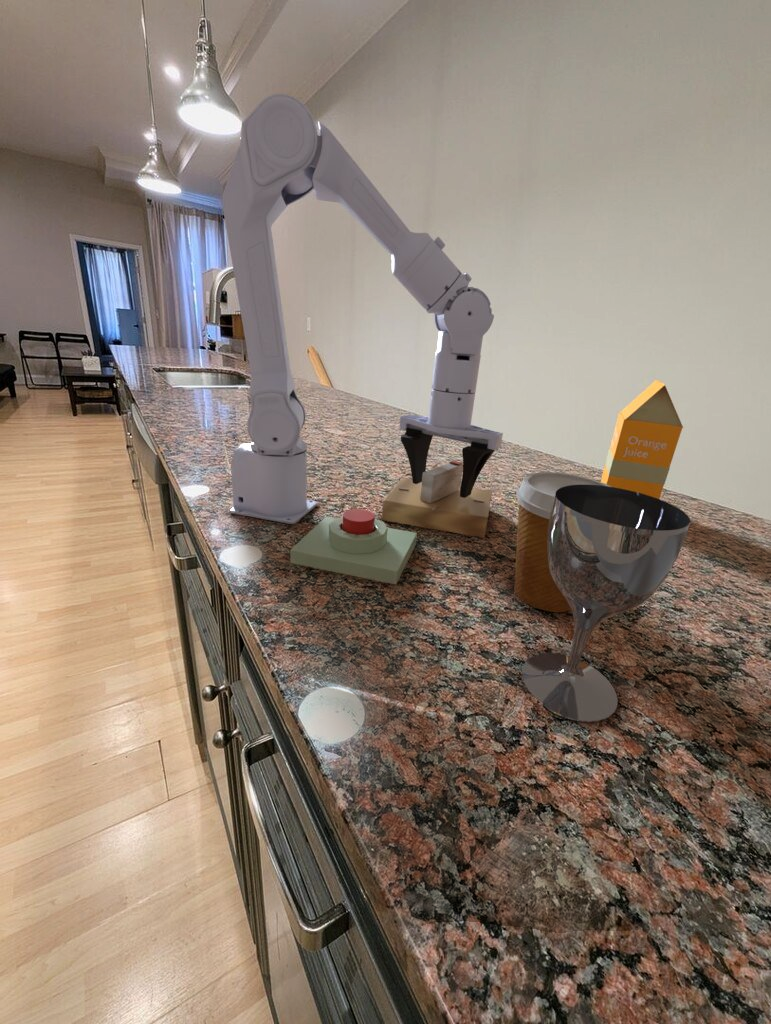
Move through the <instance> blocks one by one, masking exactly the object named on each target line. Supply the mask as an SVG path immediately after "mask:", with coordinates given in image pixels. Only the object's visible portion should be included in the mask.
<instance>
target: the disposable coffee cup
mask: <svg viewBox="0 0 771 1024" xmlns="http://www.w3.org/2000/svg"><path fill="white" fill-rule="evenodd" d="M570 485H600V486H608V487H611V486H609V485H607V484H605V483H602V482H601V480H600V481H599V480H596V479H594V478H590V477H585V476H581V475H576V474H569V473H564V472H563V473H562V472H549V471H547V472H546V471H544V472H543V471H542V472H534V473H530V474H527V475H525V476H524V478H523V480H522V482H521V484H520V485H519V486H518V487H517V488H516V490H515V494H516V497H517V502H518V516H517V517H518V518H517V520H518V521H517V534H516V535H517V536H516V550H515V552H516V553H515V568H514V569H515V570H514V582H513V583H514V585H513V590H514V594H515V595H516V596H517V597H518V598H519V600H521V601H522V602H524V603H526V604H527V605H529V606H530V607H533V608H535V609H538V610H541V611H546V612H551V613H564V612H569V611H572V610H571V608H570V606H569V604H568V602H567V601H566V599H565V598H564V596H563V595H562V593H561V592H560V590H559V589H558V587H557V586H556V584H555V583H554V581H553V579H552V576H551V574H550V571H549V567H548V561H547V538H548V525H549V519H550V513H551V508H552V504H553V500H554V496H555V493H556V491H557V490H558V489H560V488H561V487H565V486H570Z"/></svg>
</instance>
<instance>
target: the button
mask: <svg viewBox="0 0 771 1024" xmlns="http://www.w3.org/2000/svg"><path fill="white" fill-rule="evenodd" d="M342 517H343V522H342V530H343V531H344V532H346V533H350V534H355V535H365V534H369V533H372V532H373V531H374V521H375V518H376V516H375V514H374V513H373V512H372V511H369V510H367V509H360V508H353V509H348V510H345V511H344V512H343V513H342Z"/></svg>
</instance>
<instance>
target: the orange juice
mask: <svg viewBox="0 0 771 1024" xmlns="http://www.w3.org/2000/svg"><path fill="white" fill-rule="evenodd" d="M683 429H684V426H683V424H682V422H681V419H680V418H679V415H678V412H677V410H676V407H675V405H674V402H673V400H672V398H671V396H670V393H669V391H668V389H667V386H666V384H665V383H663V382H662V381H660V380H658V379H656V378H655V380H654V381H653V382H651V384H649V386H647V388H645V389H644V390H643V391H642V392H640V394H639V395H637V396H636V397H635V398H634V399H633V400H632V401H631V402H630V403H629V404H627V405H626V406H625V407H624V408H623V409H622V410H620V411H619V412H618V416H617V419H616V422H615V427H614V430H613V434H612V439H611V442H610V446H609V448H608V452H607V454H606V455H607V456H606V459H605V464H604V468H603V470H602V471H603V472H602V476H601V480H600V482H602V483H605V484H607V485H609V486H611V487H615V488H620V489H625V490H630V491H634V492H638V493H642V494H645V495H648V496H651V497H654V498H657V499H660V498H661V496H662V492H663V489H664V486H665V484H666V481H667V478H668V475H669V472H670V468H671V464H672V462H673V458H674V455H675V452H676V449H677V446H678V442H679V440H680V437H681V434H682V430H683Z"/></svg>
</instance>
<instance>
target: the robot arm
mask: <svg viewBox="0 0 771 1024" xmlns="http://www.w3.org/2000/svg"><path fill="white" fill-rule="evenodd" d="M317 123H318V129H317V125H316V121H315V119H314V117H313V115H312V113H311V111H310V110H309V109H308V107H307V106H306V105H305V104H304V103H303V102H302V101H301V100H300V99H298V98H297V97H295V96H293V95H290V94H287V93H280V92H279V93H273V94H270V95H268V96H266V97H264V98H263V100H261V101H260V102H259V104H257V106H255V107H254V109H253V110H252V111H251V112H250V113H249V114H248V115H247V117H246V118H245V119H244V120H243V121H242V123H241V128H240V135H239V136H240V137H239V142H238V143H239V144H238V148H237V150H236V154H235V156H234V159H233V163H232V165H231V169H230V172H229V175H228V178H227V181H226V184H225V187H224V190H223V193H222V200H221V201H222V210H223V217H224V222H225V228H226V234H227V240H228V241H227V242H228V246H229V252H230V257H231V258H230V259H231V263H232V264H231V265H232V270H233V275H234V281H235V288H236V293H237V299H238V305H239V312H240V316H241V317H240V318H241V322H242V323H241V324H242V329H243V336H244V341H245V346H246V352H247V358H248V364H249V370H250V371H249V372H250V383H249V384H250V385H249V399H250V412H249V415H248V417H247V421H246V422H247V423H246V429H247V433H248V437H249V439H250V441H251V442H250V443H242V444H240V445H239V446H238V447H237V448H236V449H235V450H234V451H233V452H234V453H233V455H232V458H231V464H230V475H231V487H232V488H231V489H232V504H233V507H232V508H230V514H234V515H239V516H244V517H245V516H246V517H249V518H256V519H260V520H266V521H272V522H276V523H283V524H288V525H295V524H296V523H297V522H299V521H300V520H301V519H302V518H304V517H305V516H306V515H307V514H308V513H309V512H311V511H312V510H313V509H314V508H316V507H317V506H318V501H317V500H312V499H308V493H307V492H308V491H307V490H308V487H307V486H308V484H307V483H308V482H307V481H308V470H307V469H308V468H307V467H308V465H307V464H308V461H307V460H308V457H307V456H308V454H307V453H308V450H307V449H308V445H307V443H306V442H305V441H304V440H303V439H302V437H301V431H302V429H303V428H304V425H305V422H306V409H305V406H304V404H303V403H302V402H301V400H300V398H299V397H298V395H297V392H296V387H295V386H296V385H295V381H294V378H293V373H292V370H291V364H290V357H289V350H288V342H287V333H286V329H285V327H286V326H285V320H284V314H283V313H284V312H283V305H282V299H281V290H280V284H279V283H280V282H279V277H278V269H277V262H276V253H275V246H274V240H273V239H274V238H273V232H272V226H273V224H275V222H276V220H277V219H278V218H279V217H280V216H281V215H282V213H283V212H284V211H285V210H286V209H287V208H288V206H289V205H291V204H293V203H295V202H297V201H299V200H301V199H302V198H304V197H306V196H308V195H309V194H310V193H312V191H314V194H315V195H314V196H315V200H318V201H323V202H330V203H338V204H340V205H341V206H342V207H343V208H344V209H345V210H346V211H347V212H348V213H349V214H350V215H351V216H352V217H353V218H354V219H355V220H356V222H358V223H359V224H360V225H361V226H362V227H363V228H364V229H365V230H366V231H367V232H368V234H370V235H371V237H372V238H373V239H374V240H375V241H376V242H377V243H378V244H379V245H380V246H381V247H382V248H383V249H384V250H385V251H386V252H387V253H388V254H389V255H390V257H391V273H392V276H394V278H396V280H397V281H398V282H399V283H400V285H402V286H403V288H404V289H405V290H406V291H407V292H408V293H409V294H410V295H411V297H413V298H414V299H415V300H416V301H417V303H418V304H419V305H420V306H421V307H422V308H423V310H425V311H426V313H428V314H433V322H434V325H435V328H436V329H437V330H438V334H437V335H438V338H437V344H436V350H435V353H434V363H433V373H432V381H431V391H430V398H429V399H430V400H429V409H428V417H427V416H419V415H413V414H404V415H400V417H399V419H400V420H399V429H398V430H399V431H400V430H401V431H405V432H404V434H401V435H400V442H401V444H402V446H403V448H404V451H405V453H406V456H407V459H408V463H409V466H410V467H409V468H410V472H411V479H412V481H413V483H414V484H418V483H420V482H422V476H423V472H426V471H427V461H428V455H429V451H430V447H431V443H432V441H433V440H432V439H433V437H437V438H442V439H446V440H447V439H448V440H452V441H457V442H462V443H465V444H470V445H468V446H465V447H462V450H461V451H462V452H461V453H462V464H463V470H462V477H461V484H460V486H461V488H460V497H463V498H466V497H467V496H469V495H471V492H472V489H473V488H474V487H475V484H476V481H477V479H478V477H479V475H480V473H481V471H482V469H483V468H484V466H485V465H486V464H487V462H488V460H490V458H491V456H492V455H493V453H494V452H495V451H496V450H498V449H501V448H502V443H503V441H502V440H503V435H504V433H503V432H500V431H495V430H492V429H487V428H484V427H481V426H478V425H474V424H472V419H473V412H474V405H475V399H476V391H477V385H478V378H479V370H480V364H481V357H482V356H481V353H482V346H483V339H484V336H485V334H487V332H488V331H489V330H490V328H491V327H492V325H493V322H494V319H495V315H494V314H493V313H492V311H493V310H492V307H491V305H492V304H491V301H490V299H489V297H488V295H487V294H486V293H485V292H484V291H482V290H481V289H480V288H478V287H473V286H469V284H470V282H471V281H472V277H471V275H470V274H469V273H468V272H465V273H462V271H460V269H459V268H458V267H457V265H456V264H455V263H454V262H453V261H452V260H451V259H450V257H449V256H448V255H447V254H446V253H445V251H443V250H444V248H445V247H446V244H445V242H444V241H443V240H442V239H441V237H440V236H437V237H435V238H434V239H433V237H432V236H431V235H430V234H429V233H428V232H413V231H411V230H410V229H409V228H408V227H407V225H406V224H405V223H404V222H403V220H402V219H401V217H399V215H398V214H397V213H396V212H395V210H394V208H393V207H392V206H391V205H390V204H389V202H388V201H387V200H386V199H385V197H384V196H383V195H382V194H381V193H380V191H379V190H378V189H377V188H376V186H375V185H374V184H373V183H372V181H371V180H370V178H369V177H368V176H367V175H366V174H365V173H364V171H363V170H362V169H361V168H360V166H359V164H358V163H357V162H356V161H355V160H354V159H353V157H352V156H351V155H350V153H349V152H348V151H347V150H346V148H345V147H344V146H343V144H341V143H340V141H339V140H338V139H337V137H336V135H334V133H333V132H332V131H331V130H330V129H329V128H328V127H327V125H324V124H323V123H322V122H321V121H319V120H318V121H317ZM318 132H319V135H318Z"/></svg>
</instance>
